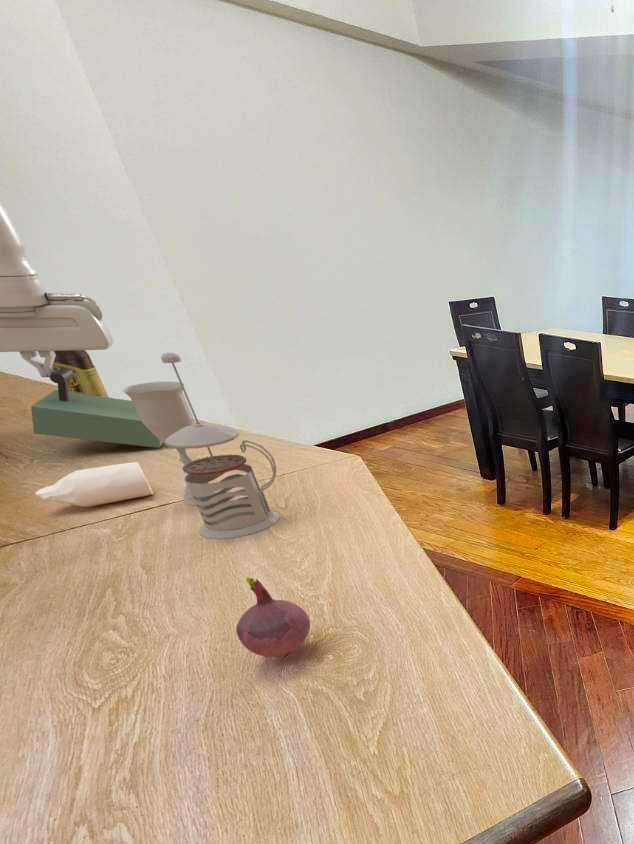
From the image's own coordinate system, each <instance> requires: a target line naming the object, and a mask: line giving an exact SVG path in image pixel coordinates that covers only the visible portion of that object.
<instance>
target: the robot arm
mask: <svg viewBox="0 0 634 844" xmlns="http://www.w3.org/2000/svg"><path fill="white" fill-rule="evenodd" d="M114 342H115V341H114V338H113V336H112V334H111V332H110V330H109V328H108V327H107V325H106V323H105V322H104V320H103V312H102V310H101V308H100V306H99V304H98V303H97V302H96V300H94V299H92V298H90V297H88V296H85V295H83V294H81V293H70V294H68V293H66V294H65V293H50V292H49V293H47V290H46V288H45V286H44V284H43V281H42V280H41V277H40V275H39V273H38V271H37V270H36V268H35V267H34V266H33V265H32V264H31V262H30V260H29V258H28V257H27V254H26V245H25V243H24V241H23V238H22V237H21V234H20V232H19V231H18V229H17V226H16V224H15V222H14V220H13V219H12V217H11V216H10V214H9V212H8V211H7V209H6V208H5V206H4V205H3V203H2V202H1V201H0V353H13V352H14V353H19V354H20V356H21V358H22V359H23V360H24V361H26V362H27V363H29V364H30V365H31V366H33V367H34V368H36V369H37V371H38V373H39V375H40V377H41V378H50V375H51V374H53V373H54V372H55V371H54V368H53V366H52V365H53V362H54V359H55V356H56V354H55V352H54V351H68V350H85V351H105V350H108V349H110V348H111V347H112V346H113V344H114ZM38 355H39V357H40V358H42V359H43V358H45V359H44V361H41V360H40V359H39V358H37V356H38Z"/></svg>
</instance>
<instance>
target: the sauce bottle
mask: <svg viewBox="0 0 634 844" xmlns="http://www.w3.org/2000/svg"><path fill="white" fill-rule="evenodd" d="M54 352H55V354H56V356H55V359H54V362H53V365H52V366H53V368H54V371H55V372H56V371H58V370H59V369H61V368H69V369H70V370H72V371H73V373H74V375H73V376H72V377H71V378H69V379H68V380H67V384H68V392H74V393H81V394H88V395H95V396H102V397H109V395H108V392H107V390H106V388H105V386H104V384H103V381H102V378H101V377H100V375H99V372H98V370H97V368H96V365H94V363H93V361H92V359H91V356H90V354H89V353H88V351H87V350H68V351H54Z"/></svg>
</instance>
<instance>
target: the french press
mask: <svg viewBox="0 0 634 844" xmlns="http://www.w3.org/2000/svg"><path fill="white" fill-rule="evenodd" d="M160 358H161V361H162V363H163V364H171V365H172V368H173V370H174V372H175V374H176V377H177V379H178V382H180V384H181V387H182V389H183V394H184V396H185V399H186V401H187V404H188V406H189V408H190V411H191V413H192V415H193V418H194V421H195V424H193V425H191V426H186V427H184V428H182V429H180V430H178V431H177V432H175V433H174V434H172V435H171V436H169V437H168V438H167V439H166V442H165V443H166V444H167V445H169V446H171V447H173V448H172V449H176V448H181V449H186V450H188V449H189V450H190V449H202V448H207V450H208V454H209V455H210V456H206V457H205V456H204V457H201V458H198V459H194V460H192V462H191V463H190V462H188V463H187V464H186V465H183V466H182V471H183V472H184V471H185V472H187V473H189V474H187V473H186V475H185V476H184V481H185V485H186V486H188V488H189V490H190V493H191V495H192V497H193V499H194V501H195V504H196V505H195V506H196V508H197V511H198V512H199V515H200V518H201V519H202V521H203V523H202V525H200V527H199V529H198V535H200V536H202V537H204V538H206V539H214V540H215V539H216V540H221V539H233V538H234V539H235V538H238V537H243V536H249V535H252V534H255V533H259V532H261V531H264V530H266V529H268V528H269V527H271V526H273V525H275V524H276V523H277V522H278V521H279V519H280V514H279V513H278V512H276V511H274V510H271V508H270V506H269V504H268V501H267V498H266V496H265V492H264V491H265V490H267V489H268V488H270V487H271V486H272V484H274V482H275V479H276V476H277V465H276V461H275V458H274V456H273V455H272V454H271V452H270V451H268V449H266V448H265V447H264V446H263V445H262V444H261V445H260V444H259V443H257V442H253V441H250V440H242V442H241V444H240V445H239V449H240V451H241V453H243V454H245V453H246V452H247V447H248V448H252V449H254V450H256V451H258V452H260V453H261V454H262V456H264V457H265V458H266V459H267V460H268V462H269V464H270V468H271V470H272V477H271V479H270V480H269V481H267V482H266V483H264V484H262V485H261V486H260V485H259V481H258V480H257V477H256V474H255V472H254V469H253V467H252V465H249V464H246V462H247V457H245V456H243V455H241V454H230V453H229V454H220V455H219V454H218V455H213V453H212V451H211V448H210V447H215V446H220V445H223V444H226V443H230V442H232V441H235V440H236V439H238V437H239V436H240V430H239V429H237V428H235V427H231V426H228V425H225V424H221V423H216V422H215V423H212V422H211V423H201V422H199V419H198V418H197V415H196V412H195V410H194V407H193V406H192V403H191V401H190V398H189V396H188V394H187V390H186V389H185V386H183V384H184V383H183V381H182V379H181V376H180V375H179V372H178V370H177V367H176V365H175V363H180V362H182V359H181V357H180V356H179V354H177V353H174V352H164V353H162V355H161V356H160ZM182 383H183V384H182ZM247 443H249V444H247ZM250 444H252V445H250ZM167 445H166V446H167ZM254 445H255V446H256V447H255V446H254ZM258 447H259V448H261V449H262V450H261V449H259V448H258ZM231 471H232V472H233V471H240V472H245V474H241V473H235V474H231V475H228V476H225V477H224V478H223V479H221V480H220V481H218V482H213V481H215V480H217V479H218V478H219V477H221V476H223V475H224V474H226V473H229V472H231ZM185 472H184V473H185ZM236 488H243V489H239V490H235V491H231V490H232V489H236ZM215 491H219V492H217V493H215V494H213V495H210V496H207V495H209V494H211V493H213V492H215ZM240 496H241V497H240ZM242 496H243V497H242ZM235 497H239V498H237V499H233V498H235Z"/></svg>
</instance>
